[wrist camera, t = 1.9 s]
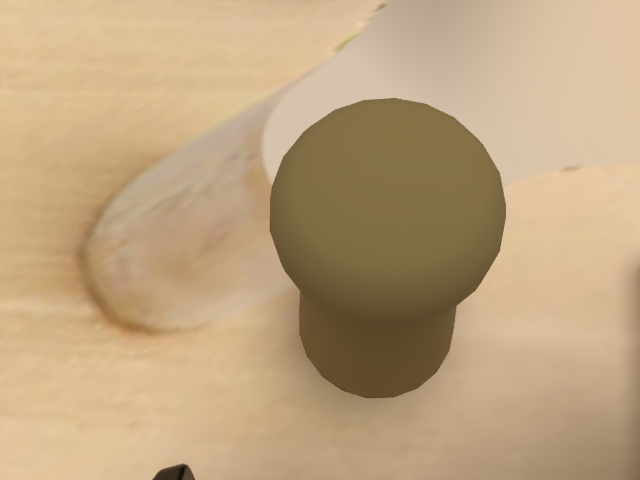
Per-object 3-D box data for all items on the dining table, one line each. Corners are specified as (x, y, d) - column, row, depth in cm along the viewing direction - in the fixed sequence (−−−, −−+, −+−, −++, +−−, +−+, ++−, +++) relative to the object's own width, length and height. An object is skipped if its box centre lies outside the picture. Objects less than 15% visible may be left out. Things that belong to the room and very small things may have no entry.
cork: (345, 429, 18) (326, 389, 8) (272, 291, 21) (189, 129, 11) (485, 348, 19) (619, 222, 9) (400, 223, 22) (432, 14, 12)
